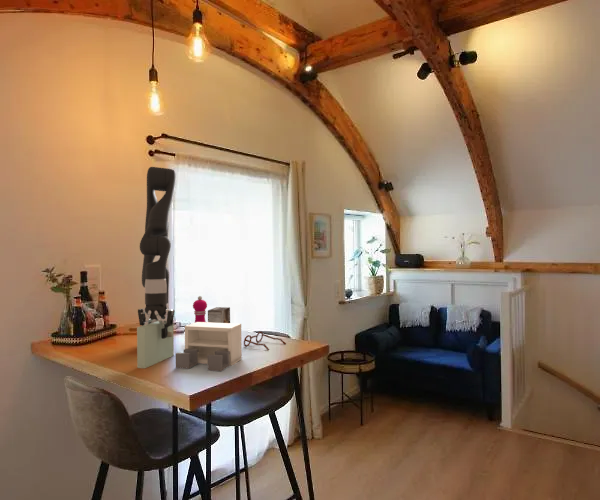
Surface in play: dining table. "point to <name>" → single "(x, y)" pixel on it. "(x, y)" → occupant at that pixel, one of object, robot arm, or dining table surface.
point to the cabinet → (211, 345)
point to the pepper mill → (200, 309)
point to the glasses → (259, 340)
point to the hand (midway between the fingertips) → (156, 337)
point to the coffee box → (219, 315)
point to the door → (153, 345)
